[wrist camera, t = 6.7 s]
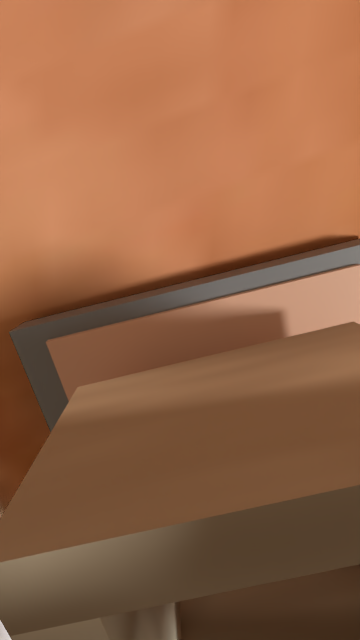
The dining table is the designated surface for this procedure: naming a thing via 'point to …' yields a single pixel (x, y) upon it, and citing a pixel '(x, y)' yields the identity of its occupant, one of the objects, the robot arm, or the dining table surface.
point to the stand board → (188, 322)
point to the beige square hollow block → (197, 502)
